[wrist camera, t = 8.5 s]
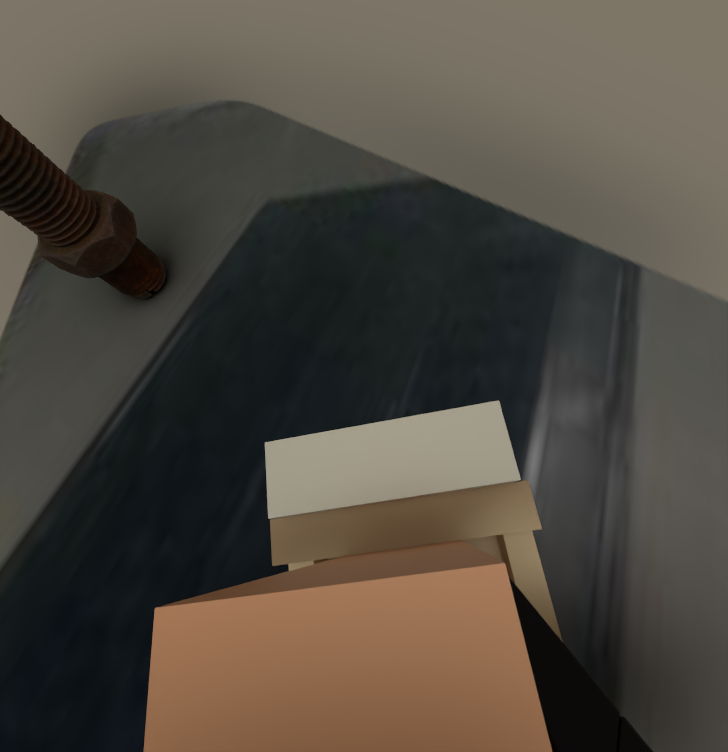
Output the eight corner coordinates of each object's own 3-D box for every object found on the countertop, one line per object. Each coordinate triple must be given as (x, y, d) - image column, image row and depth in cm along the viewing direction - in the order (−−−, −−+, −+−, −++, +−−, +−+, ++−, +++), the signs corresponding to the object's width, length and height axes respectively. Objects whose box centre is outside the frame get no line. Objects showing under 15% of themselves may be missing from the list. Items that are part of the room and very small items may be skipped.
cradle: (583, 784, 13) (650, 913, 9) (332, 798, 14) (288, 919, 10) (505, 487, 17) (528, 480, 12) (309, 517, 18) (270, 519, 14)
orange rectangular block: (484, 661, 13) (685, 1279, 2) (373, 672, 14) (107, 1222, 3) (458, 537, 15) (505, 562, 4) (359, 551, 15) (154, 607, 4)
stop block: (493, 489, 17) (520, 479, 11) (321, 515, 18) (268, 518, 12) (479, 434, 18) (498, 400, 12) (316, 462, 19) (264, 442, 13)
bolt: (166, 232, 26) (-150, -91, 12) (201, 275, 24) (-125, -46, 10) (97, 285, 25) (-316, 14, 11) (127, 334, 24) (-321, 81, 10)
